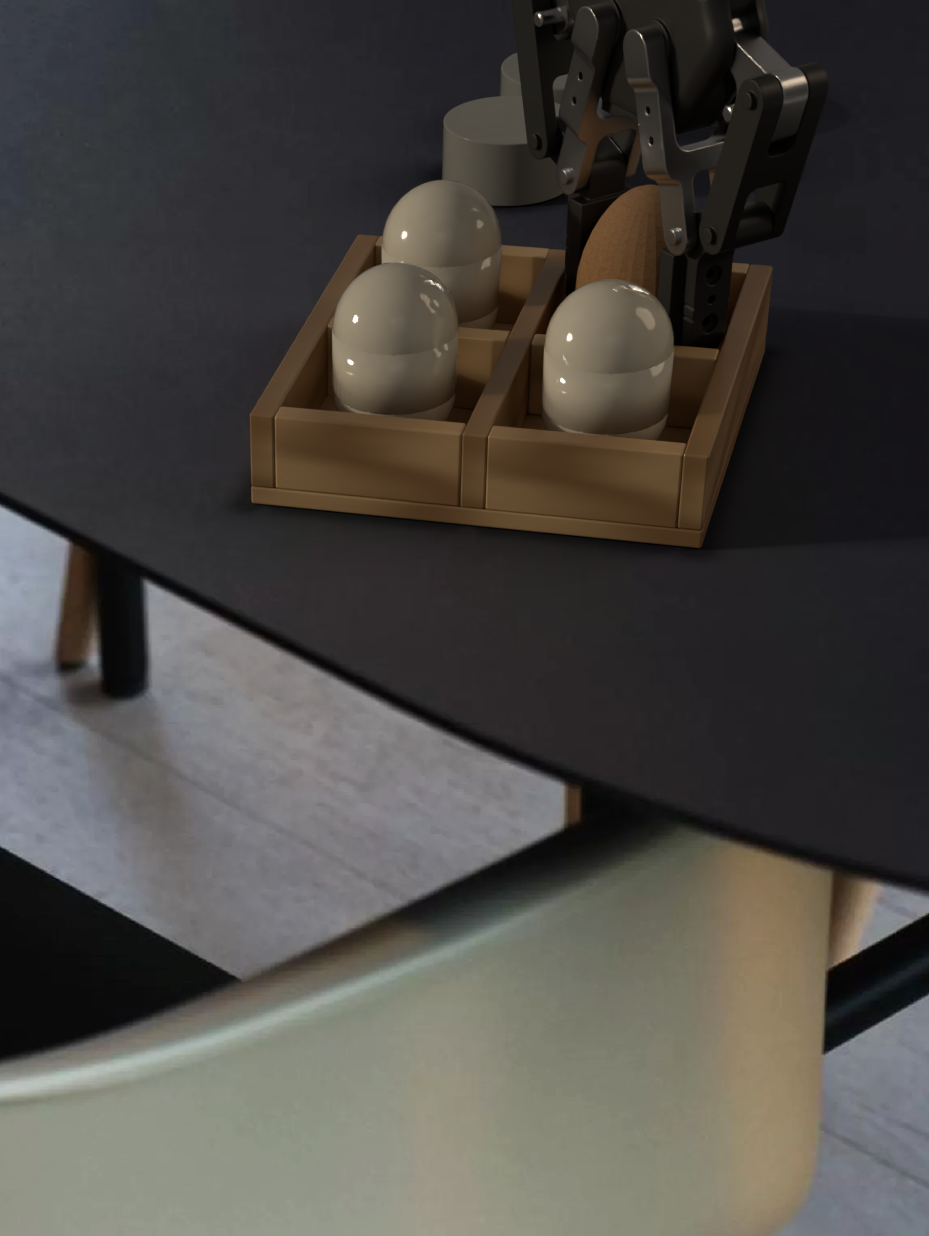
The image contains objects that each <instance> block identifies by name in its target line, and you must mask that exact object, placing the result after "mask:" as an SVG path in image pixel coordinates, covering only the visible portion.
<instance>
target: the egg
mask: <svg viewBox="0 0 929 1236" xmlns="http://www.w3.org/2000/svg"><path fill="white" fill-rule="evenodd" d="M663 248H667V246H666V244H665V241H664V235H663V225H662V216H661V207H660V197H659V188H658V184H657V185H656V184H643V185H638V186H635V187H632V189H631V190H629V191H627V192H626V193H624V194H622V195H621V196H620V197H619V198H618V199H616V200H615V201H614V202H613V203H612V204H611V205H610V206H609V208H608V209H607V210H606V211H605V213H604V214H603V215H602V216H601V218H600V219H599V221H598V223H597V224H596V226H595V227H594V229H593V231H592V233H591V235H590V237H589V239H588V241H587V244H586V246H585V248H584V251H583V254H582V257H581V260H580V264H579V267H578V270H577V277H576V286H575V290H577V289H578V288H580V287H581V286H583V285H585V284H588V283H591V282H594V281H598V280H602V279H623V280H627V281H630V282H633V283H636V284H639V285H641V286H642V287H644V288H645V289H647V290H648V291H649V292H651V293H652V294H654V295H655V297H656V298H657V299H658V286H659V273H660V259H661V249H663Z"/></svg>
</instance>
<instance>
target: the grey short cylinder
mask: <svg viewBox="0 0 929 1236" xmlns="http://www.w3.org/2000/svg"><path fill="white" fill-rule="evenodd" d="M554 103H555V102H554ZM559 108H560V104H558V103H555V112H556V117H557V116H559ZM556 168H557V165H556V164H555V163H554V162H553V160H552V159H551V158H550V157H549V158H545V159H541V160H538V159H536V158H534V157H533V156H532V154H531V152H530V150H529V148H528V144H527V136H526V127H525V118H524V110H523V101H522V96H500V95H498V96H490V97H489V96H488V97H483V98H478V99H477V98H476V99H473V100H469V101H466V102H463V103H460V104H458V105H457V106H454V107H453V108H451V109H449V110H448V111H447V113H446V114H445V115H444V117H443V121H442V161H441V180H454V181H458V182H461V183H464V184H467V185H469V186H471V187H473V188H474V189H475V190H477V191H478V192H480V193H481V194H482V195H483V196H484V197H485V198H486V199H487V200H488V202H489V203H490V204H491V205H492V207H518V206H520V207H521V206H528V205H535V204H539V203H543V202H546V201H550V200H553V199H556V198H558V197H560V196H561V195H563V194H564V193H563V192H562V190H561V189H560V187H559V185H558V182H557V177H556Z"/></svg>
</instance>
